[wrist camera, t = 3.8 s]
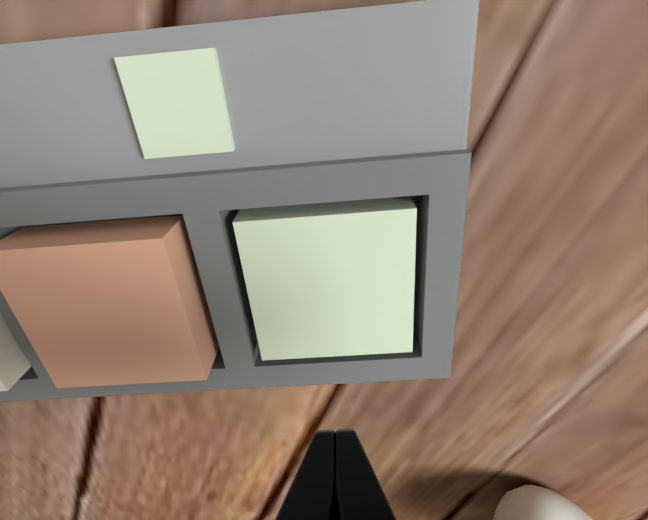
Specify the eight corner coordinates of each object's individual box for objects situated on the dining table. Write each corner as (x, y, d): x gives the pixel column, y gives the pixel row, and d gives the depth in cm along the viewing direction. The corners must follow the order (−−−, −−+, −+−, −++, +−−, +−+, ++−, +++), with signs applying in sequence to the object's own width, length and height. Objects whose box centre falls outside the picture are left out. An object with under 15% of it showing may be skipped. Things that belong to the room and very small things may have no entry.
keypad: (430, 325, 19) (450, 377, 16) (-52, 354, 20) (-121, 408, 17) (448, 7, 13) (486, -8, 10) (-250, 79, 14) (-414, 85, 11)
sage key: (404, 320, 17) (412, 351, 15) (269, 329, 17) (262, 360, 15) (405, 188, 14) (417, 208, 12) (244, 201, 14) (232, 222, 13)
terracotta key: (219, 345, 16) (206, 379, 15) (85, 353, 17) (56, 388, 15) (184, 214, 14) (162, 238, 12) (23, 227, 14) (-22, 252, 12)
